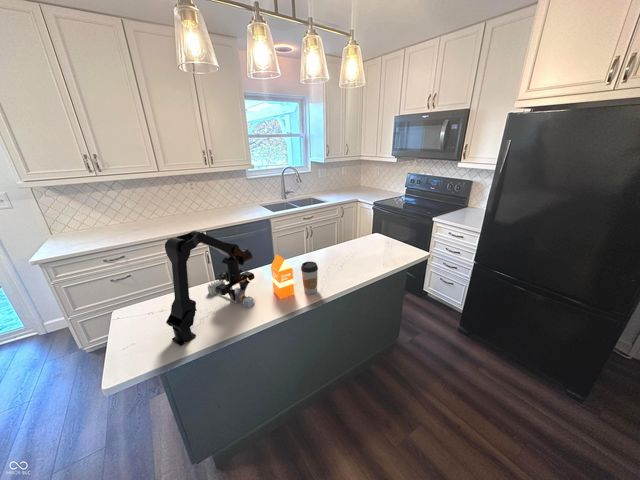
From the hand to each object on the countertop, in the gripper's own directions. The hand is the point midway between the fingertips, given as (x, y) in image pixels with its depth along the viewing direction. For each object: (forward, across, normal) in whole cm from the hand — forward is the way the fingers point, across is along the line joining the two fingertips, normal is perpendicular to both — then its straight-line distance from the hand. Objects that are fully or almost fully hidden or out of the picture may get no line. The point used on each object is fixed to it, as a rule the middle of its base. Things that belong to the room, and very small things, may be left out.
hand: (238, 297), depth 125 cm
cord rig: (+1, 0, -5) cm, 5 cm away
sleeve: (+1, 0, 0) cm, 1 cm away
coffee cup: (+2, -25, +25) cm, 36 cm away
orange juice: (+2, -17, +14) cm, 22 cm away
